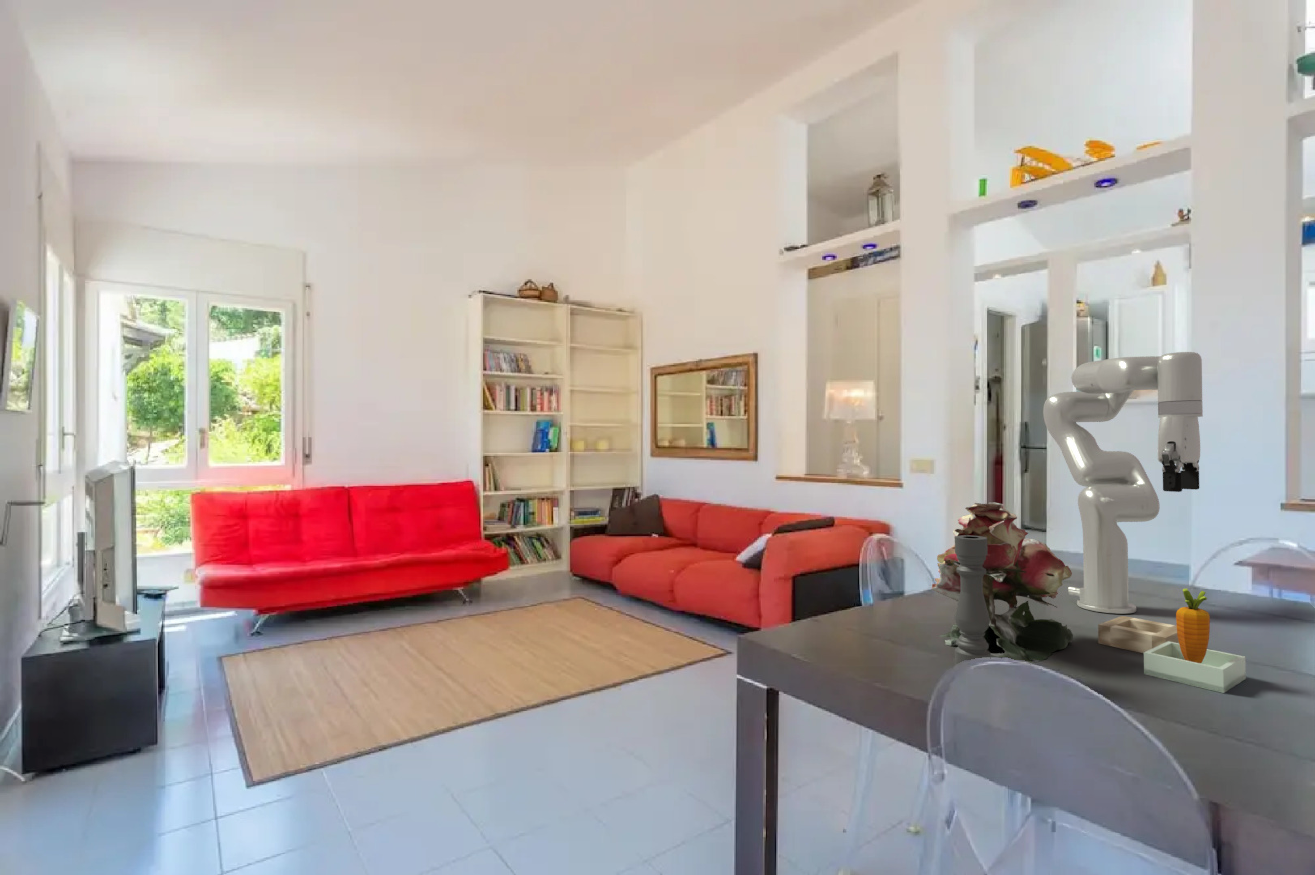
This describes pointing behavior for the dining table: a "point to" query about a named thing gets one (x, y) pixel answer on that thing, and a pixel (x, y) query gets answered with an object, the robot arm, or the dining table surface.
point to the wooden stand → (1135, 633)
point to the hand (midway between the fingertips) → (1181, 490)
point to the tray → (1195, 667)
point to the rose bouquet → (1009, 584)
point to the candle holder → (971, 598)
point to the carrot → (1193, 628)
